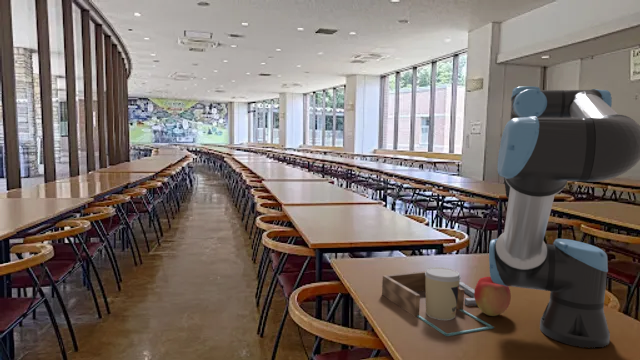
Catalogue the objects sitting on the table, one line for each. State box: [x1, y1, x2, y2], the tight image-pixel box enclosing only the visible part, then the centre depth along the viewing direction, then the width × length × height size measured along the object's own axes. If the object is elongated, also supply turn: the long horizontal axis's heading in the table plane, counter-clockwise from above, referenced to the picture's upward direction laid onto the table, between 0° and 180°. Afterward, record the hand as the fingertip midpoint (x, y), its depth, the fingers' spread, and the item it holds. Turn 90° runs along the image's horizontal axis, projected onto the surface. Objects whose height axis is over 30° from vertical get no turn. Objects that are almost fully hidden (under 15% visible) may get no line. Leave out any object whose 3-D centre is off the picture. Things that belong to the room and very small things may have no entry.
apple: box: [474, 276, 512, 317], centre depth 122 cm, size 10×10×10 cm
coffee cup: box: [425, 267, 462, 321], centre depth 121 cm, size 9×9×12 cm
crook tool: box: [459, 280, 478, 307], centre depth 138 cm, size 18×7×2 cm, turn 11°
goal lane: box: [416, 308, 495, 337], centre depth 117 cm, size 12×15×1 cm
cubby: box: [381, 270, 465, 318], centre depth 131 cm, size 18×16×6 cm
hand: (517, 222), depth 130 cm, fingers closed
